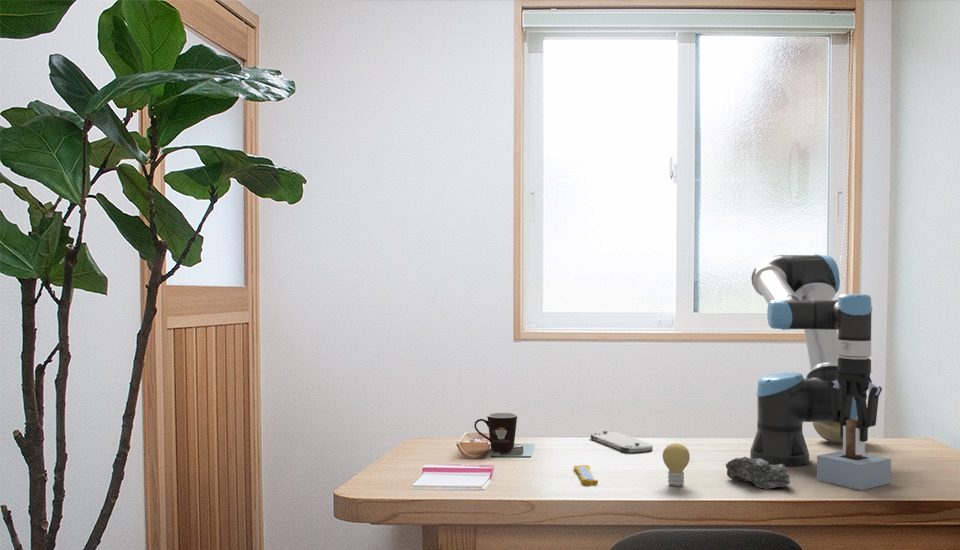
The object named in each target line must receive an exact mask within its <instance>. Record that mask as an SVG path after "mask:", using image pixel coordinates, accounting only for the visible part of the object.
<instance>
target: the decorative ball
mask: <svg viewBox="0 0 960 550" xmlns="http://www.w3.org/2000/svg"><path fill="white" fill-rule="evenodd" d="M857 419H858V418H857ZM811 423H812V426H813V428H814V430H815V431H816V433H817V434H818V436H820V437H821V438H822V439H824V440H825V441H827V442H829V443H833V444H835V445H836V444H838V445H839V444H840V445H843V438H841V436H840V432H841V431H840V424H839V423H830V422H811Z"/></svg>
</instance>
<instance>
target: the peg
mask: <svg viewBox="0 0 960 550" xmlns="http://www.w3.org/2000/svg"><path fill="white" fill-rule="evenodd" d="M857 426H859V425H858V419H846V458H848V459H852V460H861V459H862V455H855V440H856V428H857Z"/></svg>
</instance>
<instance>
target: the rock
mask: <svg viewBox="0 0 960 550" xmlns="http://www.w3.org/2000/svg"><path fill="white" fill-rule="evenodd" d="M725 467H726V475H727V477H728V478H729V479H732V480H734V481H742V480H746V481H745V482H748V481H749V482H752V483H753V485H754V486H755V488H760V489H762V488H764V489H763V490H767V489H775V488H786V487H787V486H789V484H791V482H792V481H791V479H790V475H789V474H788V470H787V468H786V466H784V465H783V464H777V465H771V464H770V463H768V462H766V461H765V460H763V459H761V458H759V459H751V458H750V457H747V456H743V457H735V458H733V459H731V460H730V461H728V462H727V463H725Z"/></svg>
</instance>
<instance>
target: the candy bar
mask: <svg viewBox="0 0 960 550" xmlns="http://www.w3.org/2000/svg"><path fill="white" fill-rule="evenodd" d="M573 469H574V471H575V473H576V475H577V476H578V479H579V481H580V482H581V485H582V486H594V485H593V484H597V485H598V479H595V477H594V475H593V474H592V472H591V470H590V469H591V467H590V465H588V464H587V465H585V464H583V465H582V464H580V465H574V466H573Z"/></svg>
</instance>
